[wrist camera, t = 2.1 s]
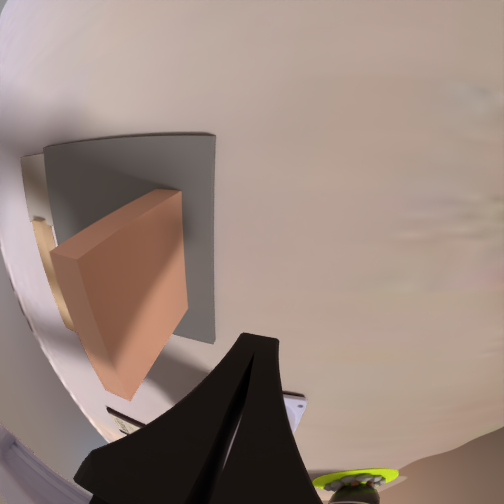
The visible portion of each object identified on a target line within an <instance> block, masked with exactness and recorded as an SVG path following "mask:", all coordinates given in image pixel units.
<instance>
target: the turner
mask: <svg viewBox="0 0 504 504" xmlns="http://www.w3.org/2000/svg"><path fill="white" fill-rule="evenodd" d="M21 167H22V176H23V184H24V190H25V197H26V203H27V208H28V213H29V218H30V222H32V224H33V228H34V233H35V237H36V241H37V245H38V249H39V252H40V256H41V259H42V263H43V266H44V269H45V273H46V276H47V279H48V282H49V285H50V288H51V291H52V293H53V296H54V299H55V302H56V304H57V307H58V309H59V312H60V314H61V317H62V319H63V322H64V324H65V326H66V328H68V329H70V330H72V331H75V332H76V329H75V327H74V324H73V322H72V320H71V317H70V314H69V312H68V309H67V307H66V304H65V301H64V298H63V296H62V293H61V290H60V287H59V284H58V281H57V277H56V274H55V271H54V268H53V264H52V261H51V257H50V253H49V252H50V251H51V250H53V249H54V248H56V247H55V243H54V239H53V234H52V230H51V226H54V225H53V220H52V215H51V209H50V203H49V197H48V190H47V182H46V174H45V164H44V153H43V154H36V155H30V156H25V157H21Z"/></svg>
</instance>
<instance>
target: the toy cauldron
mask: <svg viewBox="0 0 504 504" xmlns="http://www.w3.org/2000/svg"><path fill="white" fill-rule="evenodd" d="M398 474H399V471H398V470H394V469H388V468H371V469H358V470H350V471H342V472H336V473H332V474H327V475H324V476H320V477H318V478H316V479H314V480H313V482H312V484H313V485H314V486H315V487H317V488H320V489H325V490H327V491H331V490H332V491H334V492H335V491H336V492H335V493H334V494H333V495H332V497H331V499H330V500H329V503H328V504H379V501H380V497H379V494H378V492H377V490H376V489H374V487H376V486H380V485H382V484H385V483H388V482H390V481H392V480H394V479H395V478H396V477H397V476H398Z"/></svg>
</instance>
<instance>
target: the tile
mask: <svg viewBox="0 0 504 504" xmlns="http://www.w3.org/2000/svg"><path fill="white" fill-rule="evenodd" d="M49 253H50V257H51V261H52V264H53V268H54V271H55V274H56V277H57V281H58V284H59V287H60V290H61V293H62V296H63V298H64V301H65V304H66V307H67V309H68V312H69V314H70V317H71V320H72V322H73V324H74V327H75V329H76V332H77V334H78V336H79V339H80V341H81V343H82V345H83V347H84V350H85V352H86V354H87V356H88V358H89V360H90V362H91V364H92V366H93V368H94V370H95V372H96V374H97V376H98V377H99V379H100V381H101V383H102V385H103V387H104V388H105V390H107V391H109V392H111V393H113V394H115V395H117V396H119V397H122V398H124V399H126V400H128V401H131V399H132V398H133V396H134V394H135V393H136V391H137V389H138V388H139V386H140V385H141V383H142V381H143V380H144V378H145V376H146V375H147V373H148V371H149V370H150V368H151V367H152V365H153V363H154V362H155V360H156V359H157V357H158V355H159V354H160V352H161V351H162V349H163V347H164V346H165V344H166V343H167V341H168V339H169V338H170V336H171V335H172V333H173V331H174V330H175V328H176V327H177V325H178V324H179V322H180V320H181V319H182V317H183V316H184V314H185V313H186V311H187V309H188V300H187V289H186V276H185V262H184V245H183V224H182V191H179V190H166V189H155V190H153V191H151V192H149V193H147V194H145V195H143V196H142V197H140V198H138V199H136V200H134V201H132V202H130V203H129V204H127V205H125V206H123V207H121V208H119V209H118V210H116V211H114V212H112V213H111V214H109V215H107V216H105V217H104V218H102V219H100V220H99V221H97V222H95V223H94V224H92V225H90V226H89V227H87V228H85V229H84V230H82V231H80V232H79V233H77V234H76V235H74V236H73V237H71V238H69V239H68V240H66V241H65V242H63V243H62V244H60V245H59V246H57V247H56V248H54V249H53V250H51V251H50V252H49Z"/></svg>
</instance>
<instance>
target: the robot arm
mask: <svg viewBox="0 0 504 504" xmlns="http://www.w3.org/2000/svg"><path fill="white" fill-rule="evenodd" d="M278 355H279V340H278V339H277V338H271V337H265V336H260V335H255V334H249V333H242V334H240V336H239V337H238V339H237V340H236V342H235V343H234V345H233V346H232V348H231V349H230V350H229V352H228V353H227V354H226V355H225V357H224V358H223V359H222V360H221V361H220V363H219V364H218V365H217V366H216V367H215V368H214V369H213V370H212V372H211V373H210V374H209V375H208V376H207V377H206V378H205V379H204V380H203V381H202V382H201V383H200V384H199V385H198V386H197V387H196V388H195V389H194V390H192V391H191V392H190V393H189V394H188V395H187V396H186V397H184V398H183V399H182V400H181V401H180V402H178V403H177V404H176V405H175V406H173V407H172V408H171V409H169V410H168V411H166V412H165V413H164V414H162V415H161V416H159V417H158V418H156V419H155V420H153V421H152V422H150V423H149V424H147V425H145V426H143V427H142V428H140V429H138V430H136V431H134V432H133V433H131V434H129V435H127V436H125V437H123V438H121V439H119V440H116V441H114V442H112V443H109V444H107V445H104V446H102V447H99V448H97V449H94V450H92V451H91V452H90V454H89V455H88V456H87V457H86V458H85V460H84V461H83V462H82V464H81V466H80V468H79V469H78V471H77V473H76V474H75V476H74V478H73V479H74V481H75V482H76V483H77V484H78V485H80V486H81V487H83V488H84V489H86V490H88V491H89V492H91V493H92V494H93V496H91V495H89V494H88V493H86V492H85V491H83V490H82V489H80V488H78V487H77V486H76V485H74V484H73V483H71V482H70V481H68V480H67V479H65V478H64V477H63V476H61V475H60V474H59V473H57V472H56V471H55V470H53V469H52V468H51V467H49V466H48V465H47V464H46V463H44V462H43V461H42V460H41V459H39V458H38V457H37V456H36V455H35V454H34V452H33V451H32V450H31V449H29V448H28V447H27V446H26V445H25V444H24V443H23V442H22V441H21V440H20V439H18V438H17V437H16V436H15V435H14V434H13V433H11V432H10V431H9V430H7V428H6V427H5V426H4V425H2V423H1V422H0V494H1V496H2V497H3V498H4V500H5V501H6V502H7V504H323V503H322V501H321V499H320V497H319V496H318V494H317V492H316V490H315V488H314V486H313V484H312V482H311V480H310V477H309V475H308V473H307V470H306V468H305V466H304V463H303V461H302V458H301V456H300V453H299V451H298V448H297V445H296V442H295V439H294V436H293V434H294V432H295V430H296V428H297V426H298V423H299V421H300V419H301V417H302V415H303V412H304V410H305V408H306V406H307V402H308V400H307V398H305V397H299V396H292V395H285V394H283V392H282V386H281V379H280V371H279V356H278Z"/></svg>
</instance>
